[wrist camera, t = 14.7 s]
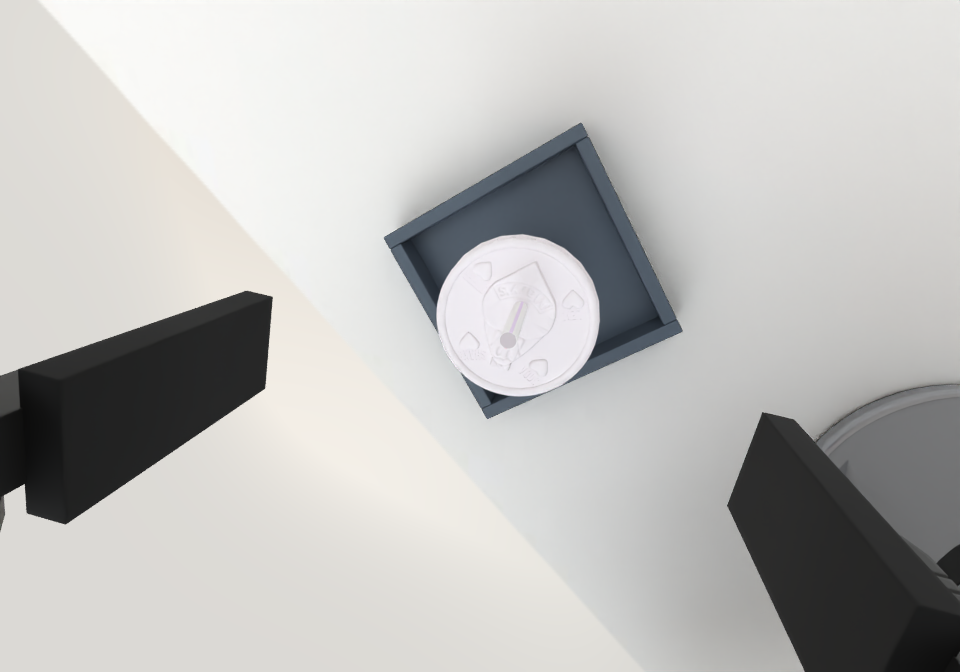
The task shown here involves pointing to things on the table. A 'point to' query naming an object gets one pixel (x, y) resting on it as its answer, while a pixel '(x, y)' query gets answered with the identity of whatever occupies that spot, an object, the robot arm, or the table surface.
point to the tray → (560, 219)
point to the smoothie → (518, 315)
